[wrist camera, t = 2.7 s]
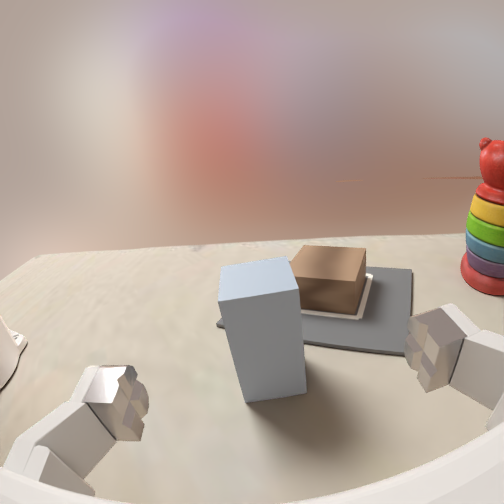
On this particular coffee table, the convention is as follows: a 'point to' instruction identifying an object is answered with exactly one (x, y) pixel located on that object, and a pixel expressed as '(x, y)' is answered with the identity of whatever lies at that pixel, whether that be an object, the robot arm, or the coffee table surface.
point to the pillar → (264, 328)
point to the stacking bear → (487, 224)
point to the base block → (330, 277)
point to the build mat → (366, 316)
